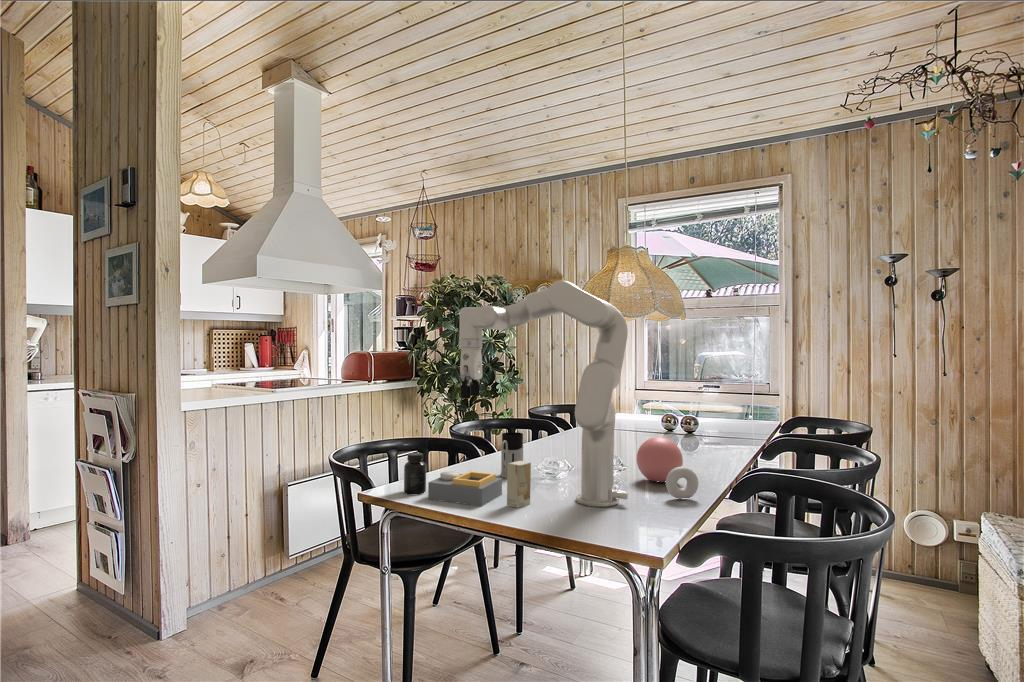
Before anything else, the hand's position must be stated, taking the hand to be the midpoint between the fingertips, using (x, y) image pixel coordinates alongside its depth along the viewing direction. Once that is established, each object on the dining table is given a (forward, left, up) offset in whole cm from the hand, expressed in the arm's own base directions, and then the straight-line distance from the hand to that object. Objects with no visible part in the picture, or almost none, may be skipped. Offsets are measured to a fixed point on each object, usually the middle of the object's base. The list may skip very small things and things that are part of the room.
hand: (470, 397), depth 178 cm
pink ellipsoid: (-55, -36, -30) cm, 73 cm away
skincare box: (-22, +12, -30) cm, 39 cm away
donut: (-65, -14, -30) cm, 73 cm away
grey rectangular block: (-4, +11, -30) cm, 32 cm away
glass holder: (-6, -18, -30) cm, 36 cm away
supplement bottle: (+13, +13, -30) cm, 35 cm away
